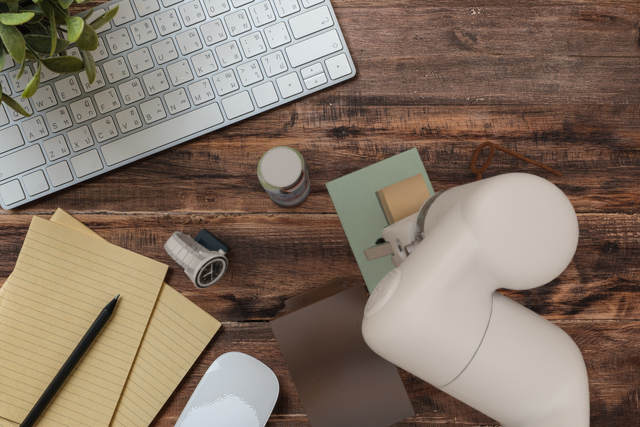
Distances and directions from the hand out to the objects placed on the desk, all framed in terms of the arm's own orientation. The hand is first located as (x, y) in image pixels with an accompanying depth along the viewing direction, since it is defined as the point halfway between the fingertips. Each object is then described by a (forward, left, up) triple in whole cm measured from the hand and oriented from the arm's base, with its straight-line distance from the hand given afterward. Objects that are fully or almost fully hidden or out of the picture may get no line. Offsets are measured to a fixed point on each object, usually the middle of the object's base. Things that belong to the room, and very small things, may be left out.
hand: (412, 229), depth 59 cm
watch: (+7, +26, -9) cm, 28 cm away
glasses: (-2, -16, -9) cm, 19 cm away
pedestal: (-9, +14, -9) cm, 19 cm away
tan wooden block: (0, 0, -1) cm, 1 cm away
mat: (0, 0, -9) cm, 9 cm away
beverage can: (+12, +12, -9) cm, 19 cm away
